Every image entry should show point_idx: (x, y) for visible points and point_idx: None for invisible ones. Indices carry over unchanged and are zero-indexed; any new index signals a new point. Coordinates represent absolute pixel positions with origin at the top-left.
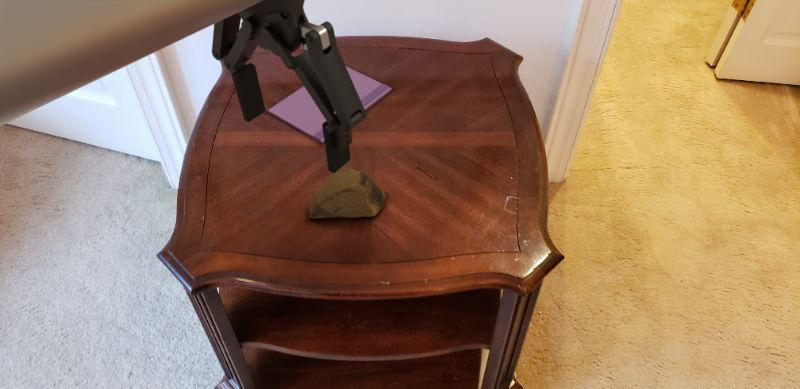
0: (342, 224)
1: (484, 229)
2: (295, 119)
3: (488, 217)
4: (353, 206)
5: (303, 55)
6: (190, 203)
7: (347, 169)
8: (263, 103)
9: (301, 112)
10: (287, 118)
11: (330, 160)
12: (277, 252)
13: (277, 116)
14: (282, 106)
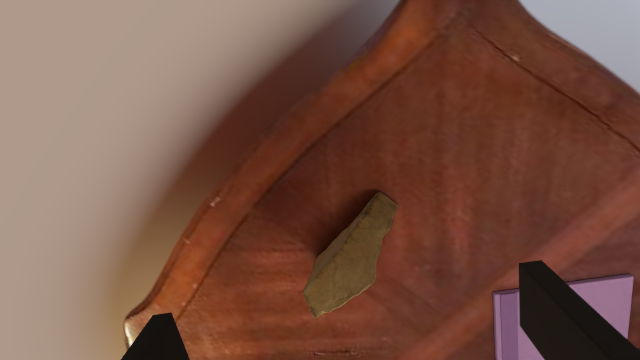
0: (336, 219)
1: (207, 339)
2: None
3: (219, 354)
4: (328, 252)
5: None
6: (564, 56)
7: (341, 302)
8: (537, 348)
9: None
10: (586, 287)
11: (132, 351)
12: (360, 116)
13: (606, 278)
14: (618, 297)
